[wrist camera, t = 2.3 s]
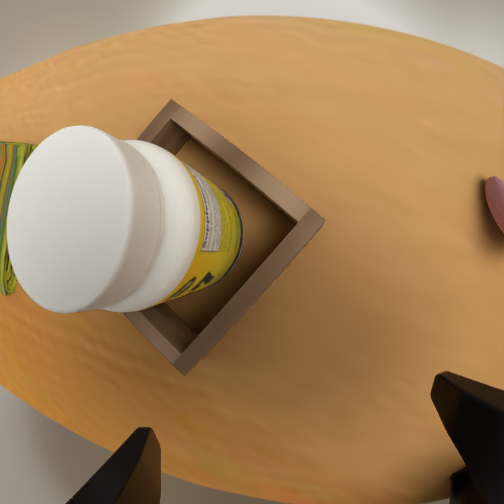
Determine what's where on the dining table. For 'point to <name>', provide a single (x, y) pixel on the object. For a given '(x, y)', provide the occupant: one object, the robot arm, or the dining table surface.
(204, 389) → the dining table surface
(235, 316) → the walnut holder
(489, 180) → the video game controller
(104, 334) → the dining table surface
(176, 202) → the supplement bottle
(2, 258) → the dish towel
